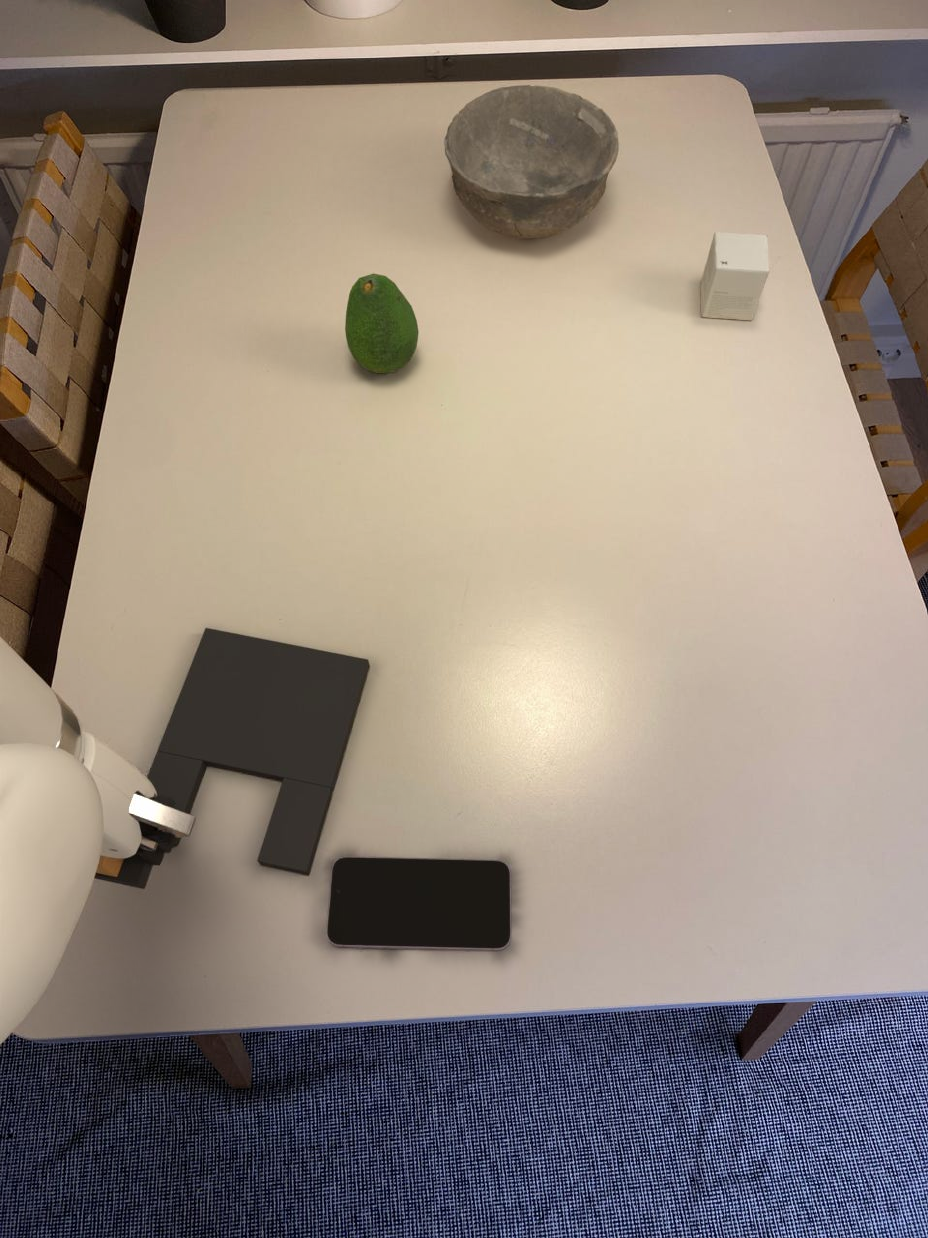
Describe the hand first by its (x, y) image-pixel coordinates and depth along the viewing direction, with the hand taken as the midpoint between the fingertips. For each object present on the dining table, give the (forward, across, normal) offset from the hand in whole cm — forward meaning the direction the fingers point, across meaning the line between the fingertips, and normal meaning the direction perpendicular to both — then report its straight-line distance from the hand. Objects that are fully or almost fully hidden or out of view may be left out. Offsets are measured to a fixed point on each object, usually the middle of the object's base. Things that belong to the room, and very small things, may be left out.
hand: (115, 833), depth 66 cm
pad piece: (+1, 0, 0) cm, 1 cm away
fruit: (+13, +4, +60) cm, 61 cm away
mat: (+13, +4, +12) cm, 19 cm away
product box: (+13, +41, +77) cm, 88 cm away
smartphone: (+14, +21, +2) cm, 25 cm away
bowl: (+13, +16, +88) cm, 91 cm away
